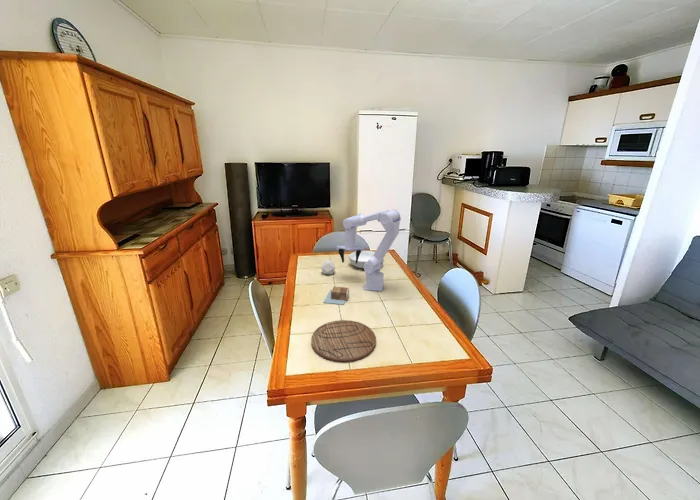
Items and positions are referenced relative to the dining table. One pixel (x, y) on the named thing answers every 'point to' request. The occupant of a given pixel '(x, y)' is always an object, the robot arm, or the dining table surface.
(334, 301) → the mat
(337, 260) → the dining table surface
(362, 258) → the serving bowl
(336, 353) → the trivet
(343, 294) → the block
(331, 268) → the die
